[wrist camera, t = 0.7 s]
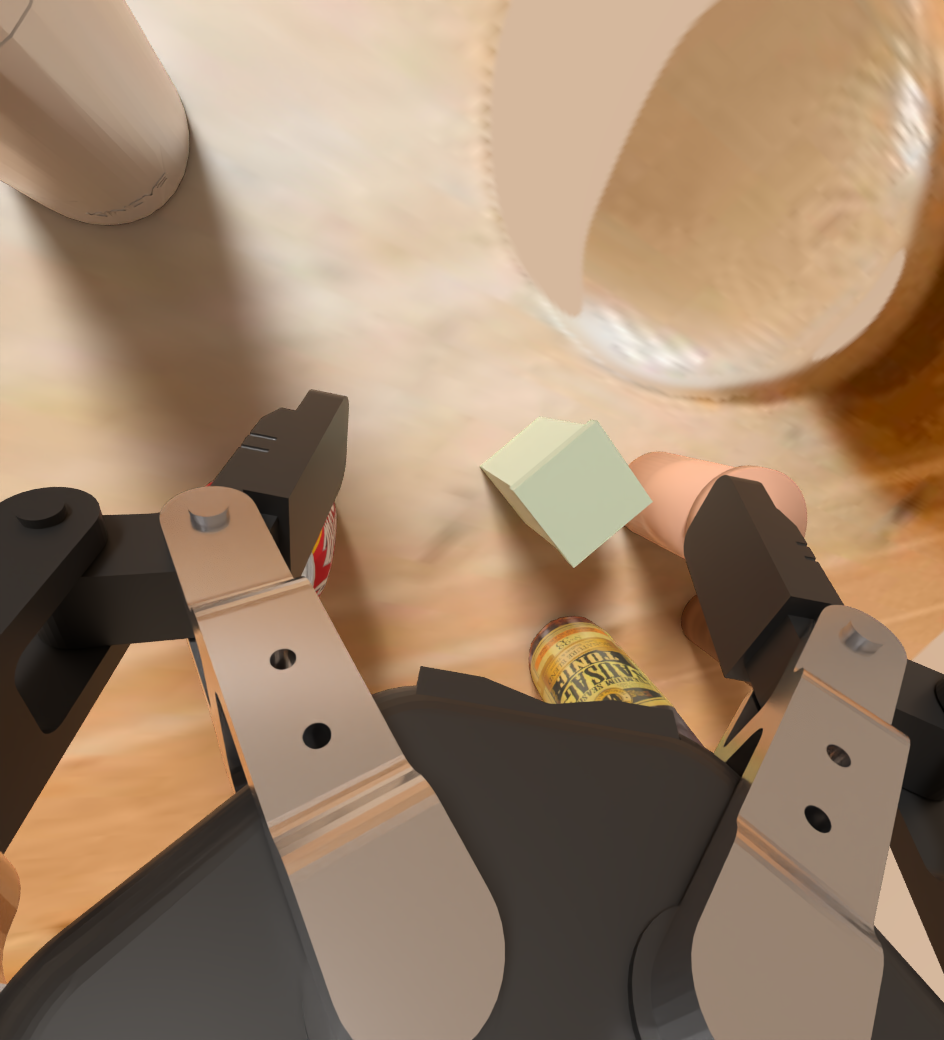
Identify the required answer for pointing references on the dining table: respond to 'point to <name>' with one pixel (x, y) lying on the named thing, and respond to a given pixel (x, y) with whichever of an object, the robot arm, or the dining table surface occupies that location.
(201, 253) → the dining table surface
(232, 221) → the dining table surface
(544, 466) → the sage tin
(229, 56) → the dining table surface
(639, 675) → the sauce bottle
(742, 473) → the terracotta jar
